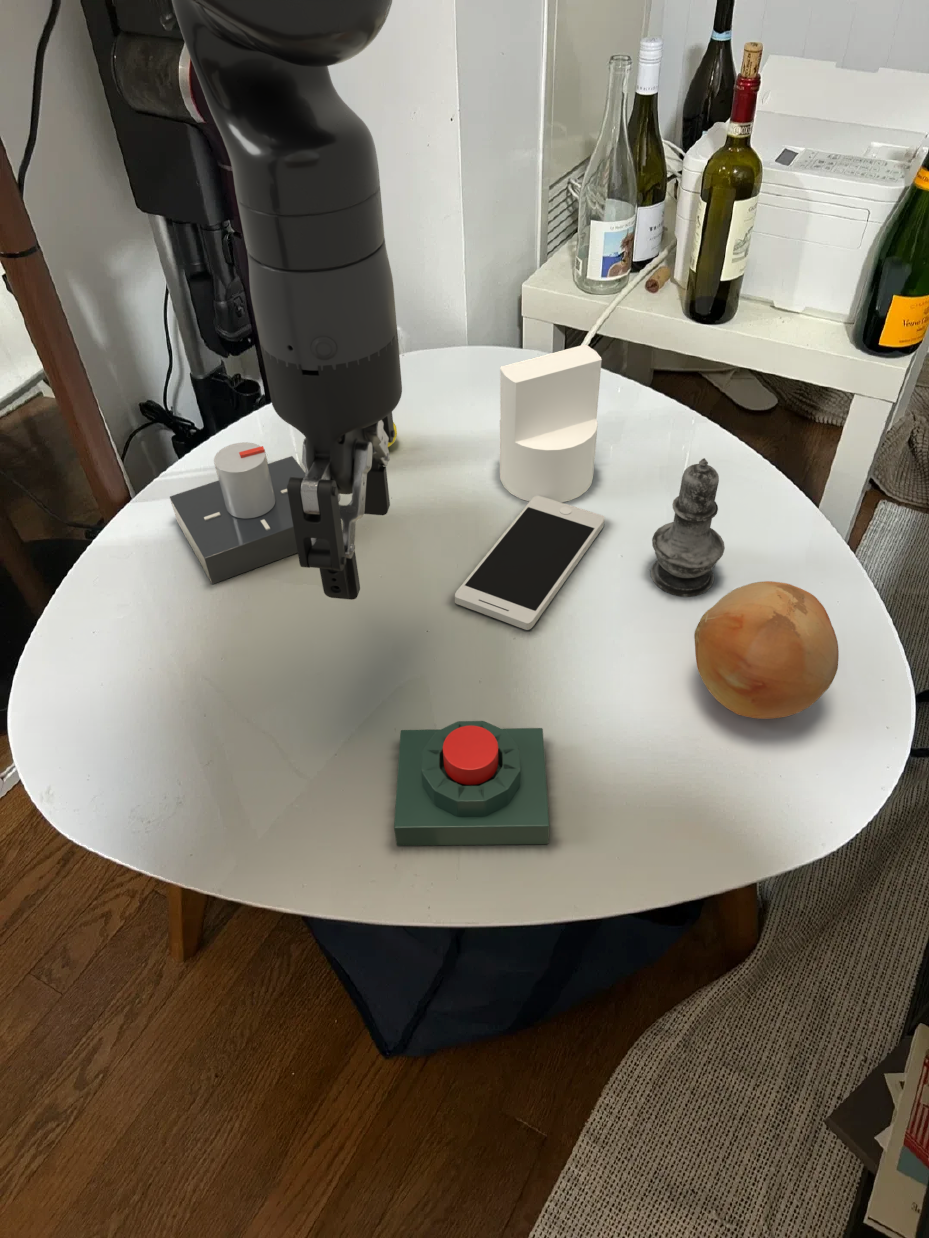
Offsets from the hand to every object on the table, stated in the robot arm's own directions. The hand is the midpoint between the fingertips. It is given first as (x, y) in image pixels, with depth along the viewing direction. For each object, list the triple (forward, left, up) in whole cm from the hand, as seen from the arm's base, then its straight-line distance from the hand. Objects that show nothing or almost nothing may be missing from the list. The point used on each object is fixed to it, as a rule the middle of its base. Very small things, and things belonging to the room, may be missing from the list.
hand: (359, 551), depth 62 cm
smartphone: (+18, +5, -13) cm, 23 cm away
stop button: (+1, -12, -10) cm, 16 cm away
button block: (+1, -12, -13) cm, 18 cm away
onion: (+24, -15, -14) cm, 31 cm away
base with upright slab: (+26, +16, -14) cm, 33 cm away
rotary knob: (-1, +23, -10) cm, 25 cm away
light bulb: (+14, +30, -14) cm, 35 cm away
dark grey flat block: (-1, +23, -13) cm, 26 cm away
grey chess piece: (+28, -2, -14) cm, 31 cm away
